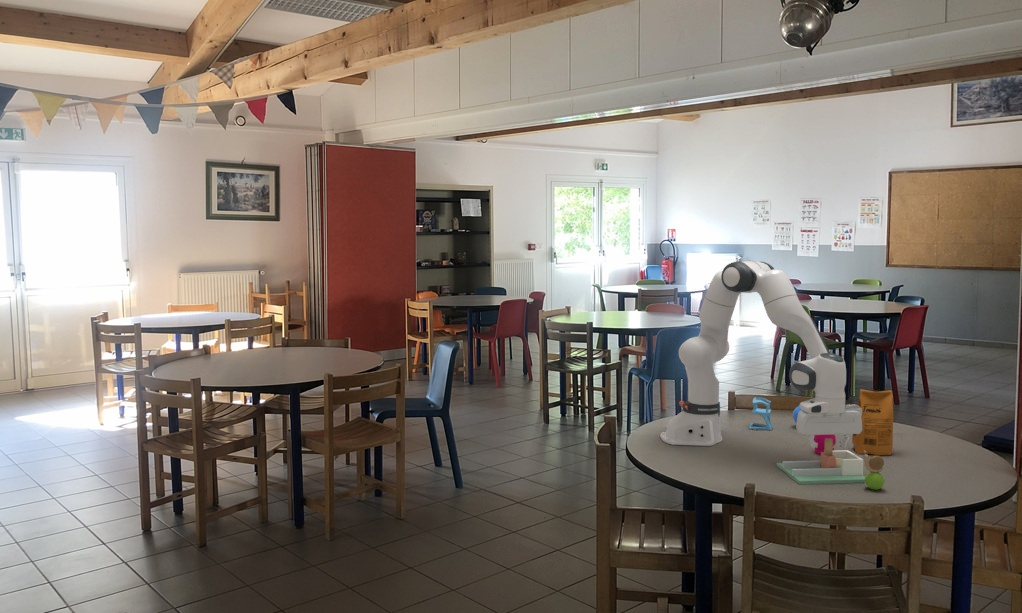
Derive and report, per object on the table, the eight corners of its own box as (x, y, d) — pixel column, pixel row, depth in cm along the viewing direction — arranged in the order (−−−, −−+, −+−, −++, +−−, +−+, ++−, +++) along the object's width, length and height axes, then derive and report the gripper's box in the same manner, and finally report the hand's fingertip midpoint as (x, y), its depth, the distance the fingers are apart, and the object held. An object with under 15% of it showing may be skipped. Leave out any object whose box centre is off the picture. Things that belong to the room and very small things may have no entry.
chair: (771, 431, 299) (771, 401, 298) (748, 429, 302) (749, 399, 301) (773, 426, 306) (774, 396, 304) (751, 424, 309) (752, 395, 308)
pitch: (799, 484, 240) (799, 465, 239) (776, 465, 258) (777, 448, 257) (869, 482, 241) (869, 463, 240) (841, 464, 259) (842, 446, 258)
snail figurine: (857, 486, 237) (859, 448, 236) (877, 485, 238) (879, 447, 237) (867, 492, 232) (868, 453, 231) (887, 492, 233) (889, 452, 231)
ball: (842, 457, 247) (849, 467, 248) (836, 454, 251) (843, 463, 252) (832, 464, 247) (838, 474, 248) (826, 461, 251) (833, 470, 252)
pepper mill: (837, 456, 268) (839, 399, 265) (815, 455, 269) (817, 398, 267) (833, 450, 275) (835, 394, 272) (811, 449, 276) (813, 393, 274)
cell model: (826, 433, 296) (827, 408, 295) (792, 430, 300) (793, 406, 299) (823, 426, 306) (824, 402, 305) (791, 424, 309) (792, 400, 308)
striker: (827, 472, 247) (828, 441, 246) (820, 467, 252) (821, 437, 251) (835, 472, 247) (836, 441, 246) (828, 467, 252) (829, 437, 251)
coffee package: (850, 446, 279) (852, 386, 277) (888, 448, 276) (890, 387, 273) (855, 454, 269) (857, 392, 267) (894, 457, 266) (897, 393, 264)
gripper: (857, 402, 251) (855, 443, 252) (794, 403, 250) (793, 445, 251) (867, 406, 244) (865, 449, 246) (803, 408, 243) (801, 451, 245)
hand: (828, 447), depth 249 cm, fingers open, 8 cm apart
